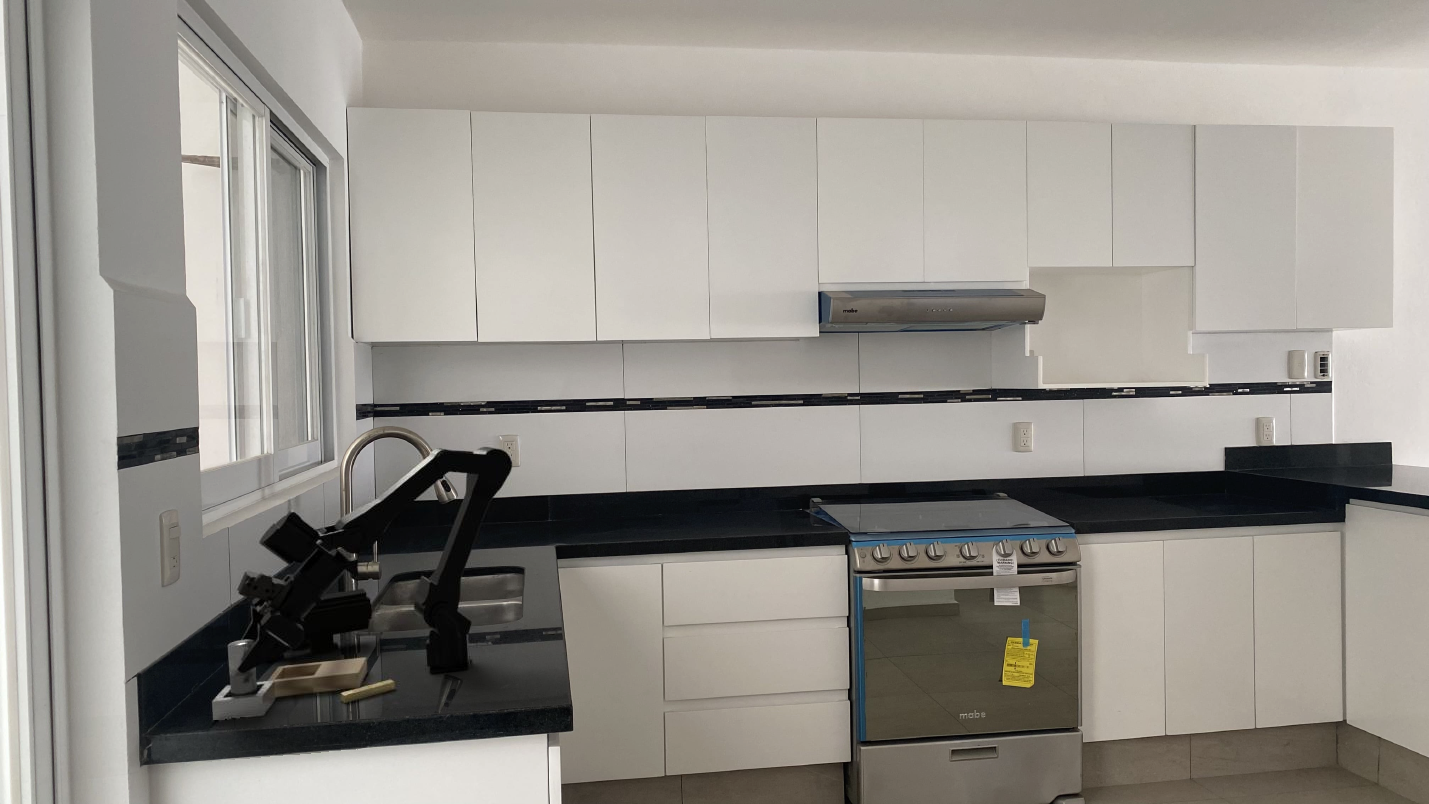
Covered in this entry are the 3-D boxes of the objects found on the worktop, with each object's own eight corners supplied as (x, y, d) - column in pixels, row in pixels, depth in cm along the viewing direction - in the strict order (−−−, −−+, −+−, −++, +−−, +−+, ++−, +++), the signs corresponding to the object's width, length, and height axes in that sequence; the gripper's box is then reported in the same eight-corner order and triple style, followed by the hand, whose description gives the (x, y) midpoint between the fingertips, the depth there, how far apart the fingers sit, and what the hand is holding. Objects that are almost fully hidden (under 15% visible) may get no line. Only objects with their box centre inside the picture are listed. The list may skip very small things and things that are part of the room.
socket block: (275, 698, 144) (274, 680, 144) (263, 715, 137) (262, 695, 137) (227, 704, 142) (226, 685, 142) (213, 721, 136) (212, 701, 136)
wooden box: (367, 671, 155) (366, 657, 155) (359, 687, 148) (358, 672, 148) (279, 681, 152) (278, 666, 152) (267, 697, 145) (266, 682, 145)
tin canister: (261, 704, 142) (256, 638, 142) (254, 712, 138) (250, 645, 138) (236, 706, 141) (231, 641, 141) (229, 715, 138) (224, 647, 137)
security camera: (263, 655, 167) (260, 602, 166) (368, 636, 176) (365, 586, 176) (266, 666, 161) (263, 610, 160) (375, 645, 170) (372, 593, 170)
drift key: (390, 686, 147) (390, 679, 147) (394, 688, 146) (394, 681, 146) (341, 700, 142) (340, 693, 142) (344, 703, 141) (344, 695, 141)
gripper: (264, 542, 149) (191, 620, 144) (276, 561, 133) (194, 649, 128) (318, 582, 154) (249, 658, 148) (336, 605, 138) (259, 691, 132)
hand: (237, 663), depth 139 cm, fingers open, 9 cm apart
